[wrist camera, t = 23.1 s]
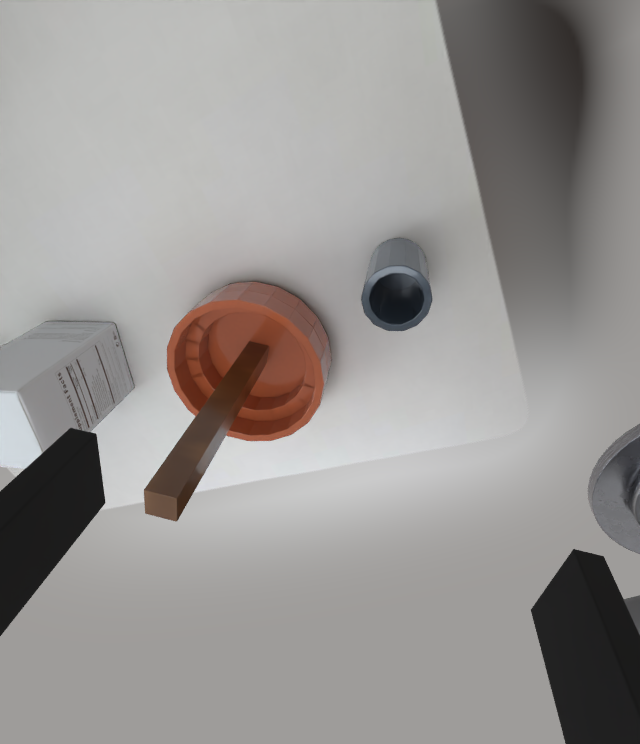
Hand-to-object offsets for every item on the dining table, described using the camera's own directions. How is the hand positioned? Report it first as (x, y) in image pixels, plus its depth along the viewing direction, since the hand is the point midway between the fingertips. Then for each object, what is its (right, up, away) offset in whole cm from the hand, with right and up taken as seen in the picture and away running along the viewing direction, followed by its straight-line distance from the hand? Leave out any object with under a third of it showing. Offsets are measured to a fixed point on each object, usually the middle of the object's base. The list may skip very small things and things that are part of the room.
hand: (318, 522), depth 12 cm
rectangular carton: (-27, +6, +40) cm, 48 cm away
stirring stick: (-7, +6, +35) cm, 36 cm away
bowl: (-6, +7, +35) cm, 37 cm away
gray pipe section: (+7, +14, +29) cm, 33 cm away
